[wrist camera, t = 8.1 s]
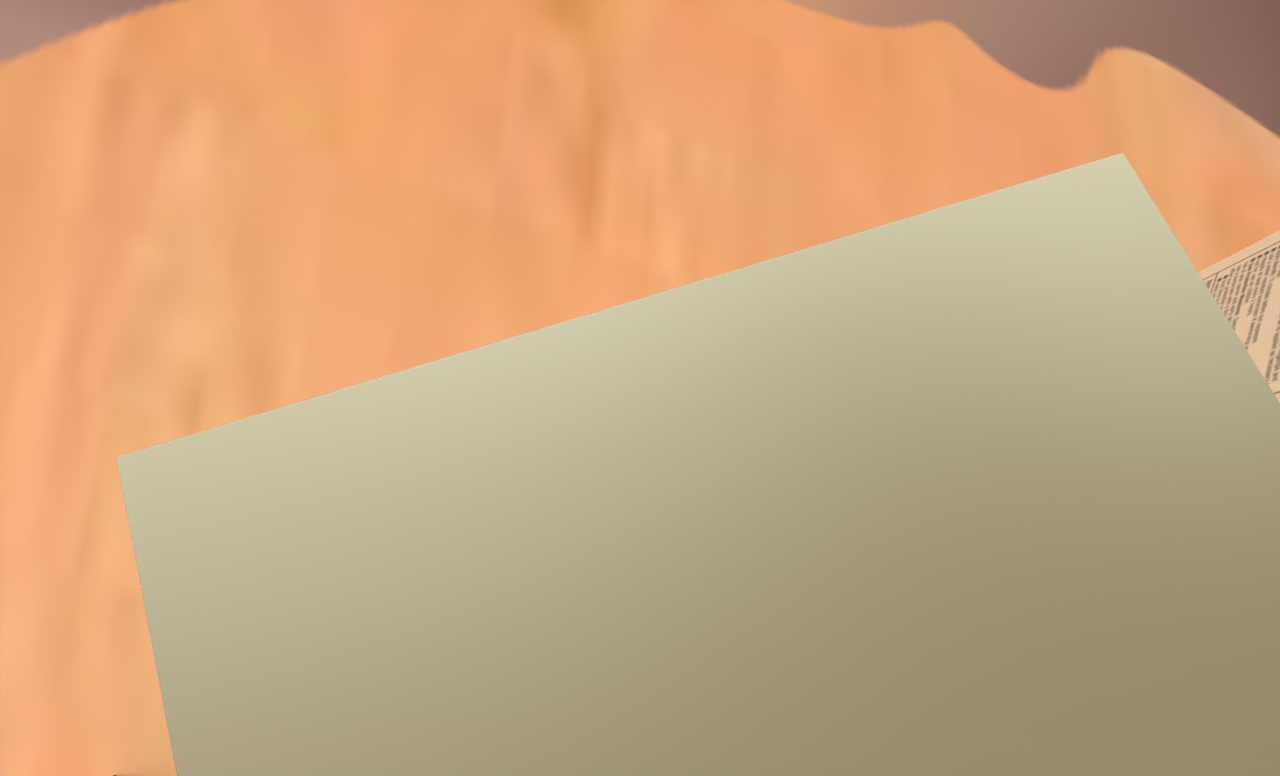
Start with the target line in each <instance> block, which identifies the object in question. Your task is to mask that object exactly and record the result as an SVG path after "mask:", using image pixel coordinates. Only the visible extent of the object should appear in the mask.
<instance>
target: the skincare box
mask: <svg viewBox="0 0 1280 776" xmlns="http://www.w3.org/2000/svg"><path fill="white" fill-rule="evenodd" d="M1198 273H1199V275H1200V277H1201V278H1202V280H1203V281H1204V283H1205V285H1206V286H1207V288H1208V289H1209V291H1210V293H1211V294H1212V296H1213V297H1214V299H1215V301H1216V302H1217V304H1218V305H1219V307H1220V309H1221V310H1222V312H1223V313H1224V315H1225V317H1226V318H1227V320H1228V321H1229V323H1230V325H1231V326H1232V328H1233V329H1234V331H1235V332H1236V334H1237V336H1238V337H1239V339H1240V340H1241V342H1242V344H1243V345H1244V347H1245V348H1246V350H1247V352H1248V353H1249V355H1250V356H1251V358H1252V360H1253V361H1254V363H1255V364H1256V366H1257V368H1258V369H1259V371H1260V372H1261V374H1262V376H1263V377H1264V379H1265V380H1266V382H1267V384H1268V385H1269V387H1270V388H1271V390H1272V392H1273V393H1274V395H1275V396H1276V398H1277V400H1278V401H1279V403H1280V230H1279V231H1277V232H1275V233H1273V234H1271V235H1269V236H1267V237H1265V238H1264V239H1262V240H1260V241H1258V242H1256V243H1254V244H1252V245H1250V246H1248V247H1246V248H1244V249H1242V250H1240V251H1239V252H1237V253H1235V254H1233V255H1231V256H1229V257H1227V258H1225V259H1223V260H1221V261H1219V262H1217V263H1215V264H1213V265H1211V266H1209V267H1207V268H1205V269H1203V270H1202V271H1200V272H1198Z"/></svg>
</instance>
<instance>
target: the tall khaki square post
mask: <svg viewBox="0 0 1280 776" xmlns="http://www.w3.org/2000/svg"><path fill="white" fill-rule="evenodd" d="M116 459H117V464H118V469H119V475H120V480H121V485H122V490H123V495H124V501H125V506H126V511H127V516H128V522H129V527H130V532H131V537H132V543H133V548H134V553H135V558H136V563H137V569H138V574H139V579H140V584H141V590H142V595H143V600H144V605H145V610H146V616H147V621H148V626H149V631H150V637H151V642H152V647H153V652H154V657H155V663H156V668H157V673H158V678H159V684H160V689H161V694H162V699H163V705H164V710H165V715H166V720H167V725H168V731H169V736H170V741H171V746H172V752H173V757H174V762H175V767H176V772H177V776H1280V403H1279V401H1278V400H1277V398H1276V396H1275V395H1274V393H1273V392H1272V390H1271V388H1270V387H1269V385H1268V384H1267V382H1266V380H1265V379H1264V377H1263V376H1262V374H1261V372H1260V371H1259V369H1258V368H1257V366H1256V364H1255V363H1254V361H1253V360H1252V358H1251V356H1250V355H1249V353H1248V352H1247V350H1246V348H1245V347H1244V345H1243V344H1242V342H1241V340H1240V339H1239V337H1238V336H1237V334H1236V332H1235V331H1234V329H1233V328H1232V326H1231V325H1230V323H1229V321H1228V320H1227V318H1226V317H1225V315H1224V313H1223V312H1222V310H1221V309H1220V307H1219V305H1218V304H1217V302H1216V301H1215V299H1214V297H1213V296H1212V294H1211V293H1210V291H1209V289H1208V288H1207V286H1206V285H1205V283H1204V281H1203V280H1202V278H1201V277H1200V275H1199V273H1198V272H1197V270H1196V269H1195V267H1194V265H1193V264H1192V262H1191V261H1190V259H1189V257H1188V256H1187V254H1186V253H1185V251H1184V249H1183V248H1182V246H1181V245H1180V243H1179V241H1178V240H1177V238H1176V237H1175V235H1174V233H1173V232H1172V230H1171V229H1170V227H1169V225H1168V224H1167V222H1166V221H1165V219H1164V217H1163V216H1162V214H1161V213H1160V211H1159V209H1158V208H1157V206H1156V205H1155V203H1154V201H1153V200H1152V198H1151V197H1150V195H1149V194H1148V192H1147V190H1146V189H1145V187H1144V186H1143V184H1142V182H1141V181H1140V179H1139V178H1138V176H1137V174H1136V173H1135V171H1134V170H1133V168H1132V166H1131V165H1130V163H1129V162H1128V160H1127V158H1126V157H1125V155H1124V154H1123V153H1120V154H1117V155H1113V156H1110V157H1107V158H1103V159H1100V160H1097V161H1093V162H1090V163H1087V164H1083V165H1080V166H1077V167H1074V168H1070V169H1067V170H1064V171H1060V172H1057V173H1054V174H1050V175H1047V176H1044V177H1041V178H1037V179H1034V180H1031V181H1027V182H1024V183H1021V184H1017V185H1014V186H1011V187H1007V188H1004V189H1001V190H998V191H994V192H991V193H988V194H984V195H981V196H978V197H974V198H971V199H968V200H964V201H961V202H958V203H955V204H951V205H948V206H945V207H941V208H938V209H935V210H931V211H928V212H925V213H922V214H918V215H915V216H912V217H908V218H905V219H902V220H898V221H895V222H892V223H888V224H885V225H882V226H879V227H875V228H872V229H869V230H865V231H862V232H859V233H855V234H852V235H849V236H846V237H842V238H839V239H836V240H832V241H829V242H826V243H822V244H819V245H816V246H812V247H809V248H806V249H803V250H799V251H796V252H793V253H789V254H786V255H783V256H779V257H776V258H773V259H769V260H766V261H763V262H760V263H756V264H753V265H750V266H746V267H743V268H740V269H736V270H733V271H730V272H727V273H723V274H720V275H717V276H713V277H710V278H707V279H703V280H700V281H697V282H693V283H690V284H687V285H684V286H680V287H677V288H674V289H670V290H667V291H664V292H660V293H657V294H654V295H650V296H647V297H644V298H641V299H637V300H634V301H631V302H627V303H624V304H621V305H617V306H614V307H611V308H608V309H604V310H601V311H598V312H594V313H591V314H588V315H584V316H581V317H578V318H574V319H571V320H568V321H565V322H561V323H558V324H555V325H551V326H548V327H545V328H541V329H538V330H535V331H532V332H528V333H525V334H522V335H518V336H515V337H512V338H508V339H505V340H502V341H498V342H495V343H492V344H489V345H485V346H482V347H479V348H475V349H472V350H469V351H465V352H462V353H459V354H455V355H452V356H449V357H446V358H442V359H439V360H436V361H432V362H429V363H426V364H422V365H419V366H416V367H413V368H409V369H406V370H403V371H399V372H396V373H393V374H389V375H386V376H383V377H379V378H376V379H373V380H370V381H366V382H363V383H360V384H356V385H353V386H350V387H346V388H343V389H340V390H337V391H333V392H330V393H327V394H323V395H320V396H317V397H313V398H310V399H307V400H303V401H300V402H297V403H294V404H290V405H287V406H284V407H280V408H277V409H274V410H270V411H267V412H264V413H260V414H257V415H254V416H251V417H247V418H244V419H241V420H237V421H234V422H231V423H227V424H224V425H221V426H218V427H214V428H211V429H208V430H204V431H201V432H198V433H194V434H191V435H188V436H184V437H181V438H178V439H175V440H171V441H168V442H165V443H161V444H158V445H155V446H151V447H148V448H145V449H141V450H138V451H135V452H132V453H128V454H125V455H122V456H118V457H116Z"/></svg>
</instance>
